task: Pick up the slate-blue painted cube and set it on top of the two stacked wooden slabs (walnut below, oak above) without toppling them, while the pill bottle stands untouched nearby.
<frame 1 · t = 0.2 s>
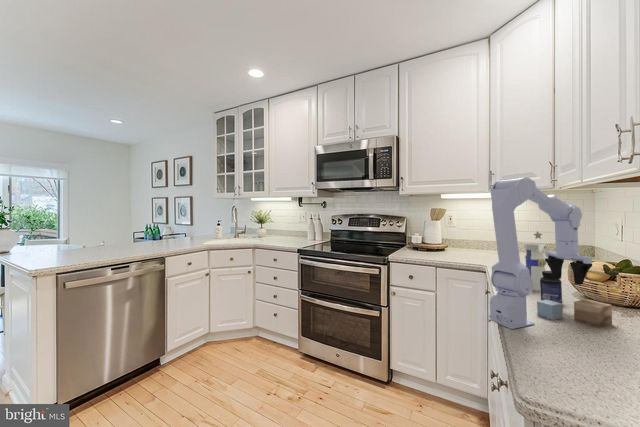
hand: (567, 281, 93), 10 cm above the worktop, tool pointing down, fingers open, 7 cm apart
pill bottle: (551, 302, 103), on the worktop
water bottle: (536, 288, 120), on the worktop
slab lower: (592, 323, 84), on the worktop, touching slab upper
cube: (549, 316, 89), on the worktop
slab upper: (592, 313, 84), point 3 cm above the worktop, touching slab lower
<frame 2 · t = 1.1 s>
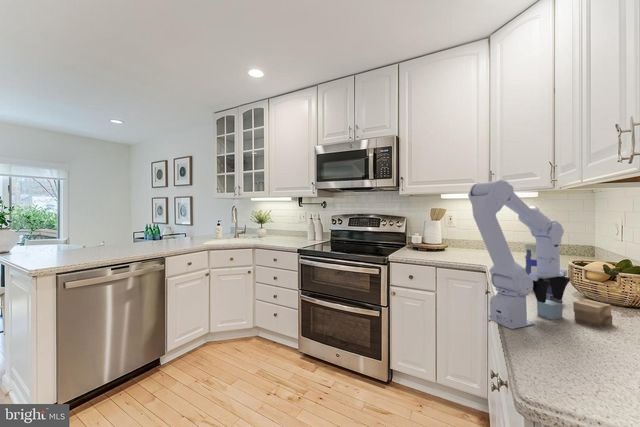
hand: (549, 300, 89), 5 cm above the worktop, tool pointing down, fingers open, 7 cm apart
nothing on the worktop moved.
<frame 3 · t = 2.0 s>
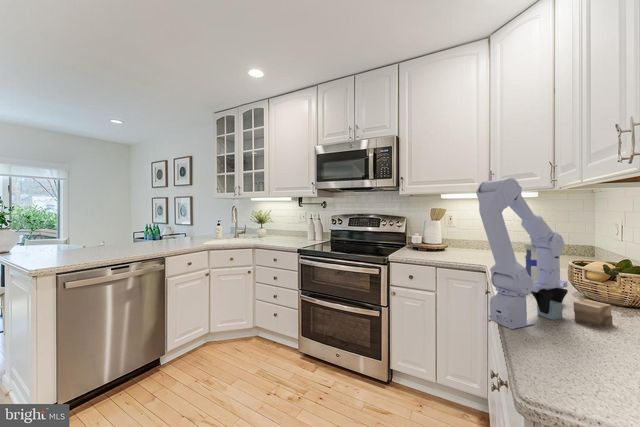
hand: (549, 311, 89), 1 cm above the worktop, tool pointing down, fingers closed on cube, 4 cm apart
cube: (549, 316, 89), on the worktop, touching gripper
everything else where it was.
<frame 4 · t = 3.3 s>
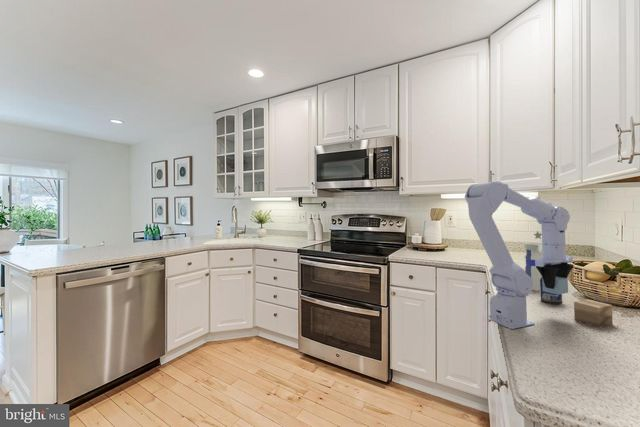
hand: (555, 287, 88), 9 cm above the worktop, tool pointing down, fingers closed on cube, 4 cm apart
cube: (555, 291, 89), point 8 cm above the worktop, touching gripper
everything else where it was.
when the fingers open (9 cm above the worktop, at t = 4.6 s): cube drops 1 cm, point 6 cm above the worktop.
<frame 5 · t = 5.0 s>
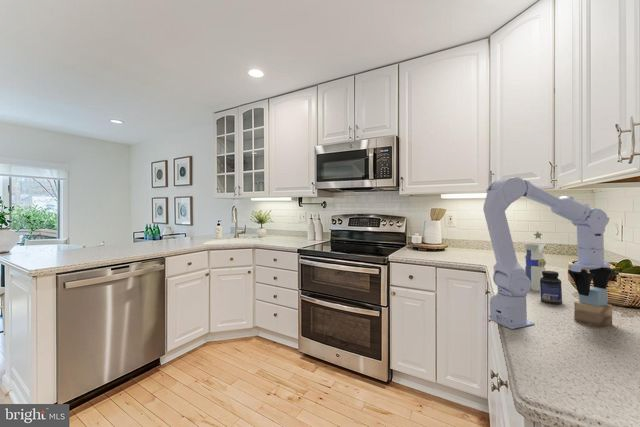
hand: (591, 293, 84), 9 cm above the worktop, tool pointing down, fingers open, 7 cm apart
cube: (593, 303, 83), point 6 cm above the worktop
everything else where it was.
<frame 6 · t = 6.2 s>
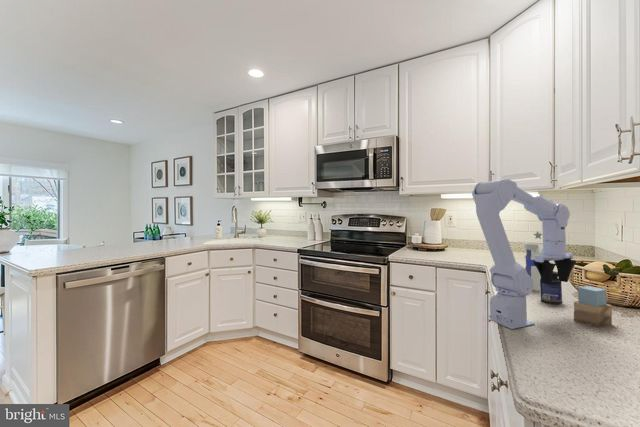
hand: (555, 282, 91), 10 cm above the worktop, tool pointing down, fingers open, 7 cm apart
slab lower: (592, 323, 84), on the worktop
cube: (592, 303, 84), point 6 cm above the worktop, touching slab upper
slab upper: (592, 313, 84), point 3 cm above the worktop, touching cube
everything else where it was.
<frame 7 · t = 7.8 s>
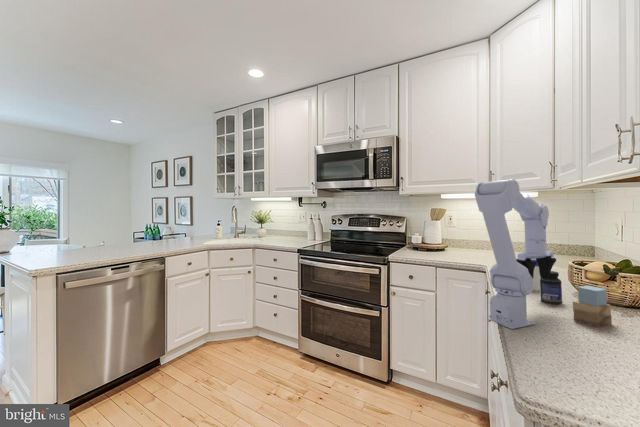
hand: (536, 279, 95), 10 cm above the worktop, tool pointing down, fingers open, 7 cm apart
slab lower: (592, 323, 84), on the worktop, touching slab upper
slab upper: (591, 313, 84), point 3 cm above the worktop, touching cube, slab lower
everything else where it was.
at the end: cube 0.3 cm off-centre on the slab upper, point 3.0 cm above the slab upper's base; slab upper 0.2 cm off-centre on the slab lower, point 3.0 cm above the slab lower's base; cube tilted 0° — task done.
